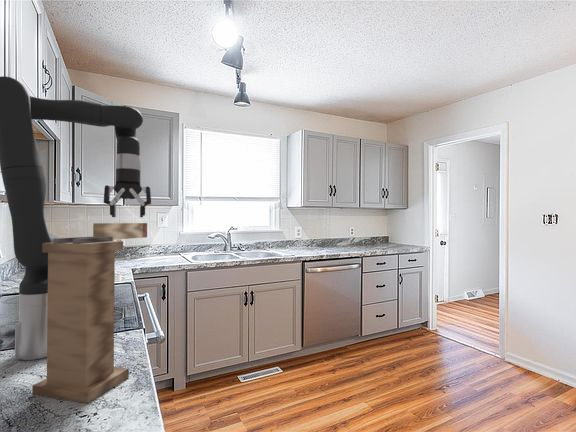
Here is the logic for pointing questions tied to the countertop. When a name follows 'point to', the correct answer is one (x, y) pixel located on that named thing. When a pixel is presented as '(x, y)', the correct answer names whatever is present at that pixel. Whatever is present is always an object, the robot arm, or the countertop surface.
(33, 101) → the robot arm
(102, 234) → the maple bar
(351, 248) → the countertop surface
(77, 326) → the walnut stand
